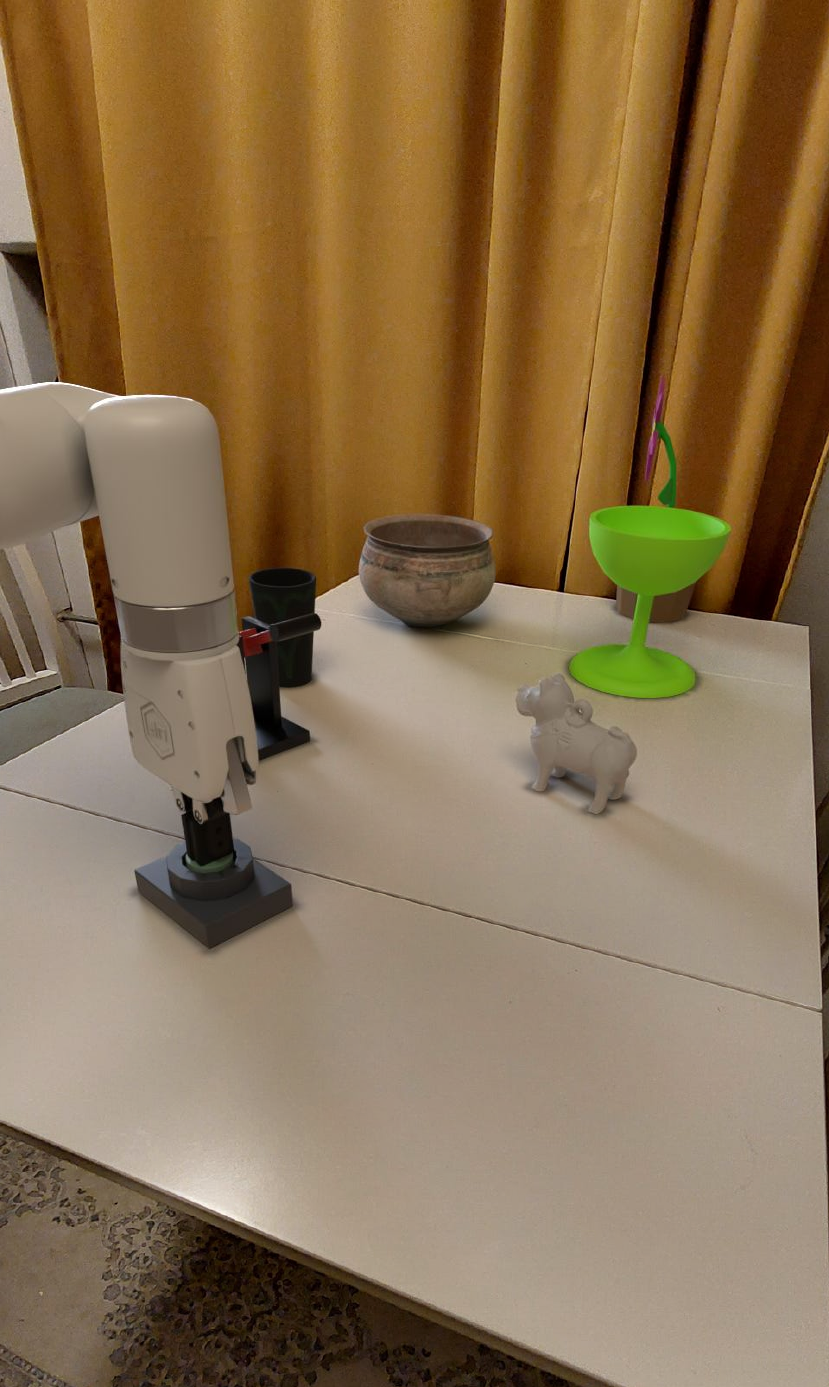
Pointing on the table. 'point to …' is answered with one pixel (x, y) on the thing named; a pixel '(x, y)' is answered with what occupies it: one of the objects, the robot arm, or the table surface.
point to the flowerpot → (677, 602)
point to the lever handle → (279, 632)
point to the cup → (287, 617)
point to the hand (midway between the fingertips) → (211, 855)
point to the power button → (210, 864)
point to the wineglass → (647, 591)
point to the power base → (214, 893)
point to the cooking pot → (427, 567)
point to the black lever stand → (268, 697)
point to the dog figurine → (574, 740)
